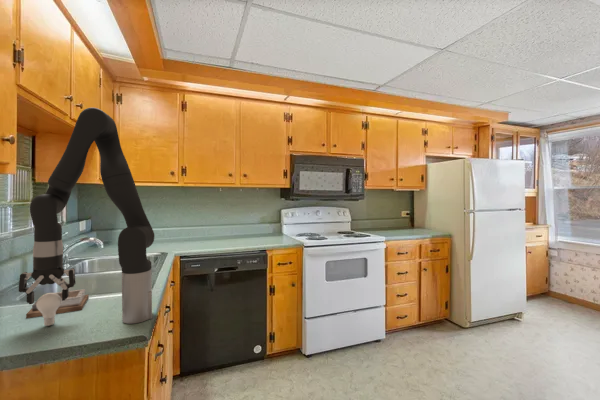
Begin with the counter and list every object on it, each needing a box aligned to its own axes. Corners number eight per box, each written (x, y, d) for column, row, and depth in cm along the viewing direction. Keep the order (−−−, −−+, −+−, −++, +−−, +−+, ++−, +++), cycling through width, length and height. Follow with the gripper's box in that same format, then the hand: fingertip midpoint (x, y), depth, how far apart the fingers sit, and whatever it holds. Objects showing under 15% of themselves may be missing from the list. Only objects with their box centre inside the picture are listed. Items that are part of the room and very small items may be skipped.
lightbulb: (33, 327, 96) (32, 294, 96) (56, 320, 101) (55, 289, 101) (42, 331, 93) (41, 298, 93) (65, 323, 98) (64, 292, 98)
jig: (88, 297, 123) (88, 287, 122) (81, 309, 110) (81, 298, 110) (39, 304, 115) (39, 293, 115) (26, 318, 103) (25, 305, 103)
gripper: (15, 257, 90) (15, 309, 91) (72, 254, 97) (72, 302, 97) (24, 253, 97) (24, 301, 97) (77, 250, 103) (77, 295, 104)
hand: (48, 301), depth 97 cm, fingers open, 8 cm apart
